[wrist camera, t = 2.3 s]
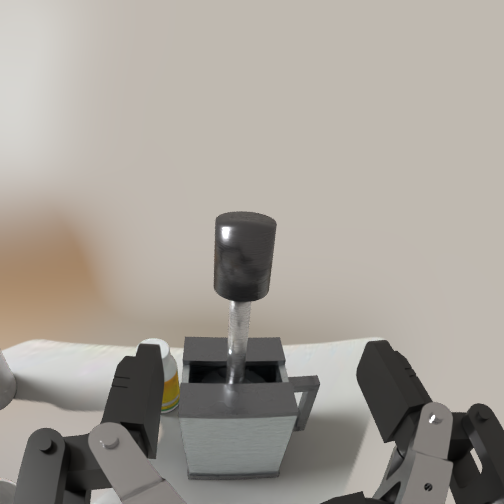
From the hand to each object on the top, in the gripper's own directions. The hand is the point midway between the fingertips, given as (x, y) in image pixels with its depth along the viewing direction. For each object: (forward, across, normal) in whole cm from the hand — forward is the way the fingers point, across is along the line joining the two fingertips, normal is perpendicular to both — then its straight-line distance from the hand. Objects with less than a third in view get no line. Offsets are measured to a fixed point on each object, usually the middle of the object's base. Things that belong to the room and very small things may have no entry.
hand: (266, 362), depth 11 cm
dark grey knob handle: (+11, 0, +16) cm, 20 cm away
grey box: (+11, -1, +26) cm, 28 cm away
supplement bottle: (+18, +9, +26) cm, 33 cm away
